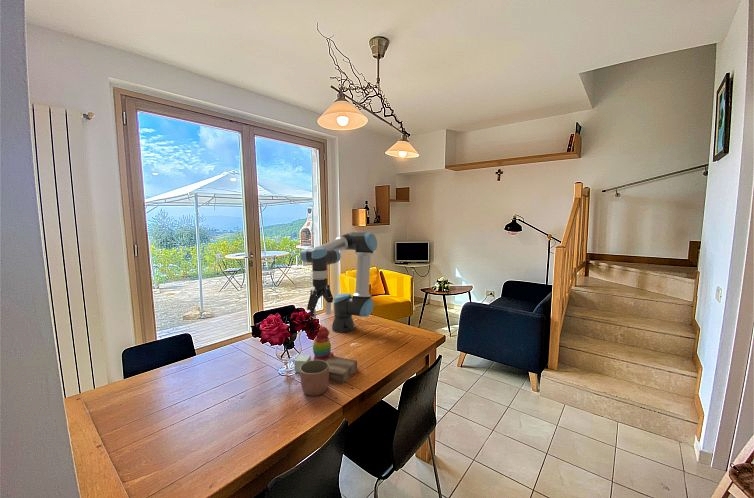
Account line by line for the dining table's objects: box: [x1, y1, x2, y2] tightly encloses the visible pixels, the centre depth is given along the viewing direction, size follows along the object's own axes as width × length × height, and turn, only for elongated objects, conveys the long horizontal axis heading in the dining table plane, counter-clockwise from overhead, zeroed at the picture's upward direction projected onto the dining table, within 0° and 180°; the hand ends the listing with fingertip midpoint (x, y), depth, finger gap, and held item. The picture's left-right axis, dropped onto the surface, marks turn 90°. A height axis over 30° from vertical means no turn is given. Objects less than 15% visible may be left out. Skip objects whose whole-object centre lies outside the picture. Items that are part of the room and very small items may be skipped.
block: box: [293, 354, 312, 374], centre depth 150 cm, size 6×6×6 cm
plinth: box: [326, 355, 358, 385], centre depth 146 cm, size 14×14×5 cm
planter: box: [299, 359, 330, 397], centre depth 132 cm, size 12×12×11 cm
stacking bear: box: [312, 324, 335, 361], centre depth 160 cm, size 11×10×18 cm
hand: (321, 318), depth 158 cm, fingers open, 13 cm apart
